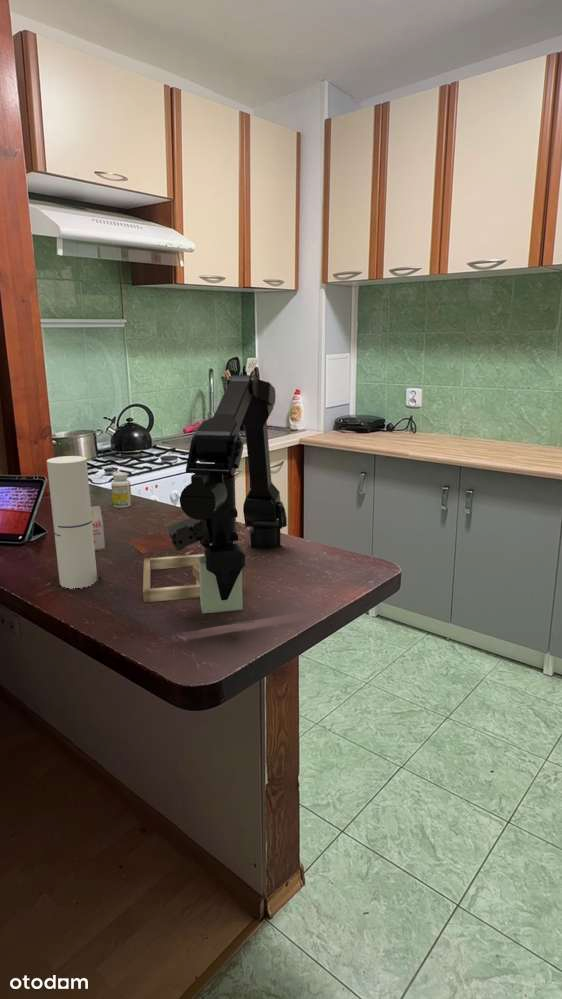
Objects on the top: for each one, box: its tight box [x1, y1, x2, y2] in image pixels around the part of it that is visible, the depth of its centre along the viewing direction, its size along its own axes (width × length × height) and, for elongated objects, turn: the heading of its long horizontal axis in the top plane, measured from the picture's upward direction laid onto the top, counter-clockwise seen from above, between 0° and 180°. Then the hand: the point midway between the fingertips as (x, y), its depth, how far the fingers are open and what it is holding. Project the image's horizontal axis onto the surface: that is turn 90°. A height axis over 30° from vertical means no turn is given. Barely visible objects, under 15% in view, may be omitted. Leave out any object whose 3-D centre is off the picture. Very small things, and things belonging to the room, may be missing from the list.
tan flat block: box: [192, 565, 200, 582], centre depth 119 cm, size 5×6×2 cm
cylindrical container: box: [46, 455, 98, 590], centre depth 118 cm, size 7×7×25 cm
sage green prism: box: [199, 556, 244, 614], centre depth 105 cm, size 7×4×10 cm, turn 102°
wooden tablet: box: [129, 532, 176, 554], centre depth 139 cm, size 27×10×2 cm, turn 29°
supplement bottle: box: [111, 471, 132, 509], centre depth 175 cm, size 5×5×10 cm
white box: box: [91, 505, 106, 551], centre depth 139 cm, size 4×7×10 cm, turn 118°
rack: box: [142, 553, 204, 603], centre depth 117 cm, size 16×17×6 cm
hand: (221, 589), depth 105 cm, fingers open, 9 cm apart
